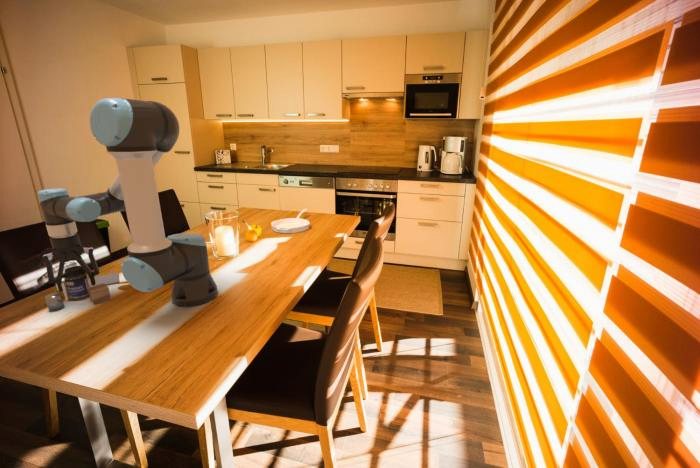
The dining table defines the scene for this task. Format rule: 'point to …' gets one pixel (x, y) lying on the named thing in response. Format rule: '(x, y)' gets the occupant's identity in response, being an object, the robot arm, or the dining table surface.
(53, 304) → the grey rounded block
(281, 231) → the pan
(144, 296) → the dining table surface
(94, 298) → the walnut cube
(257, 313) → the dining table surface
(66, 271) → the pill bottle
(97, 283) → the mat
